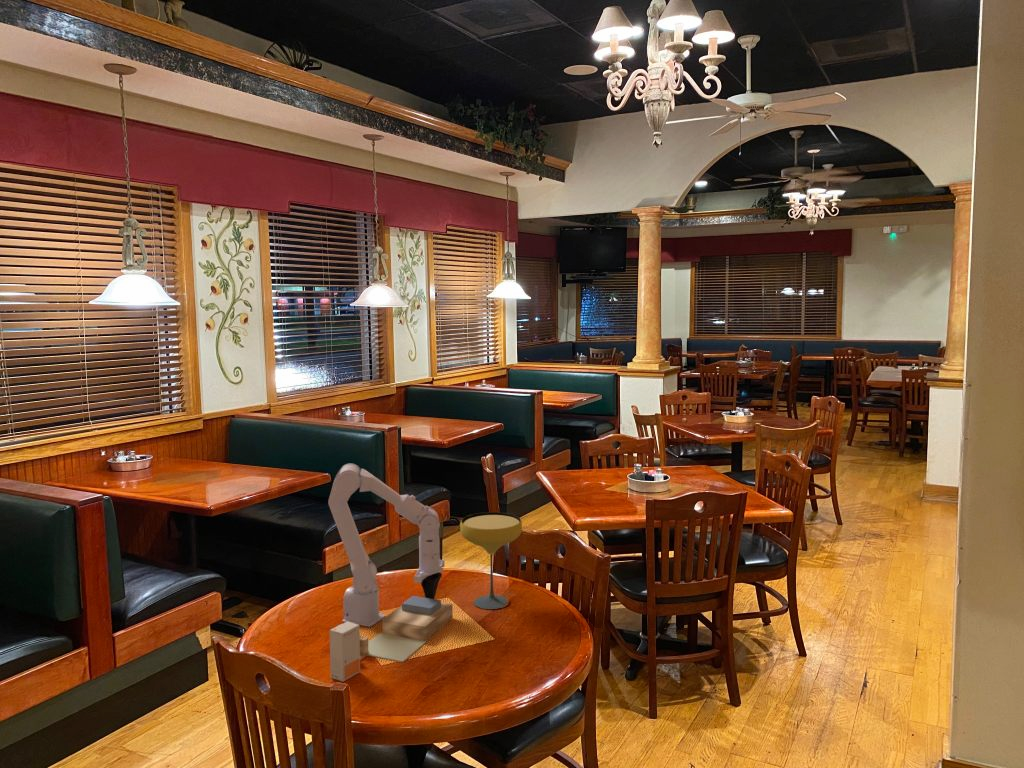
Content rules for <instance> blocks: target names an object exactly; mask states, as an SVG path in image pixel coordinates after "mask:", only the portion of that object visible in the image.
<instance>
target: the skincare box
mask: <svg viewBox="0 0 1024 768" xmlns="http://www.w3.org/2000/svg"><path fill="white" fill-rule="evenodd" d="M360 632H361V631H360V625H358V624H354V623H351V622H348V621H347V622H342V623H341V624H338V625H337V626H335V627H332V628H331V629H329V659H330V660H329V661H330V662H329V663H330V678H331V679H334V680H336V681H339V682H342V683H343V682H345V681H347V680H349V679H351V678H352V677H355V676H356V675H357V674H359V673H361V660H360Z"/></svg>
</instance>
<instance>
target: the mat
mask: <svg viewBox="0 0 1024 768" xmlns="http://www.w3.org/2000/svg"><path fill="white" fill-rule="evenodd" d="M426 643H427V640H426V641H422V640H416V639H411V638H405V637H399V636H394V635H388V634H383V632H379V633H378V634H377V635H375V636H374V637H372V639H370V640H368V651H369V653H368V654H367V656H368V657H373V658H379V659H383V660H389V661H393V662H394V661H395V662H398V663H404V662H405V661H406V660H407V659H409V658H410V657H411V656H412V655H414V654H415V653H416V652H417V651H418V650H419V649H420V648H422V647H423V646H424V645H425V644H426Z"/></svg>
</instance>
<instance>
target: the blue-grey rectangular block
mask: <svg viewBox="0 0 1024 768" xmlns="http://www.w3.org/2000/svg"><path fill="white" fill-rule="evenodd" d="M441 603H442V600H441V599H435V598H434V599H430V598H426V597H422V596H418V595H417V596H416V595H412V596H411V597H409V598H408V599H406V600H405V601H403V602H402V603H401V605H402V611H407V612H413V613H420V614H426V615H432V614H433V613H435V612H436V611H437V610H438V609H440V608H441Z"/></svg>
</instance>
